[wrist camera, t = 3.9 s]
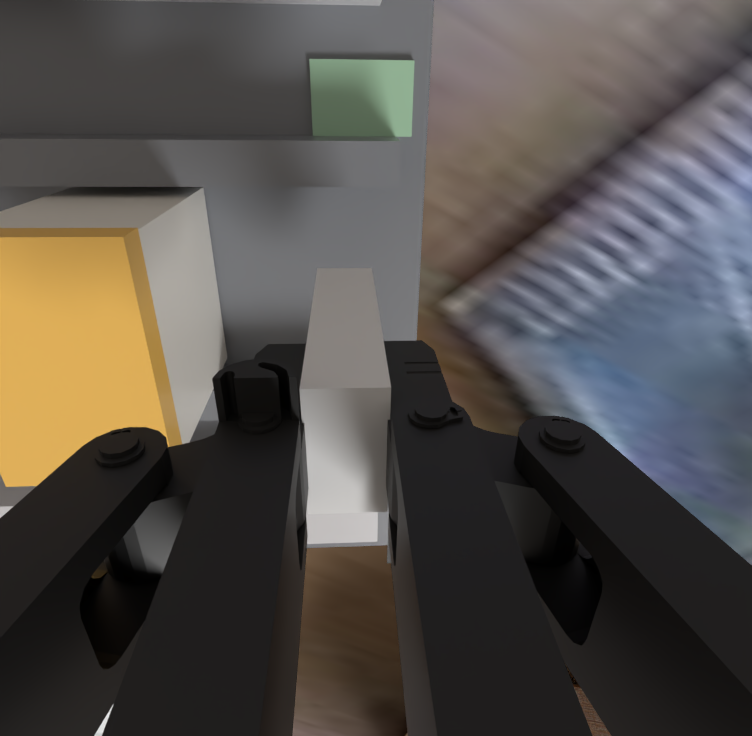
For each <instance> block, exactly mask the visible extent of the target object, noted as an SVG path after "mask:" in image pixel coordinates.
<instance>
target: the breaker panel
mask: <svg viewBox="0 0 752 736" xmlns="http://www.w3.org/2000/svg"><path fill="white" fill-rule="evenodd" d="M433 9H434V0H0V211H3V210H6V209H9V208H12V207H15V206H18V205H21V204H24V203H27V202H30V201H33V200H35V199H38V198H41V197H44V196H47V195H50V194H53V193H56V192H59V191H62V190H65V189H68V188H71V187H203V188H204V195H205V202H206V210H207V217H208V224H209V231H210V238H211V245H212V252H213V259H214V266H215V273H216V280H217V287H218V294H219V302H220V309H221V316H222V323H223V330H224V337H225V344H226V351H227V360H226V362H225V364H224V366H223V368H225V367H227V366H228V365H230V364H234V363H237V362H241V361H244V360H253V359H254V357H255V355H256V354H257V353H258V352H259V351H260V350H262V349H263V348H264V347H265V346H266V345H268V344H306V342H307V335H308V328H309V322H310V315H311V308H312V302H313V295H314V288H315V281H316V275H317V268H372V273H373V279H374V285H375V291H376V297H377V303H378V310H379V316H380V322H381V328H382V334H383V340H384V341H416V339H417V319H418V300H419V280H420V261H421V242H422V222H423V203H424V183H425V164H426V145H427V125H428V106H429V86H430V67H431V47H432V28H433ZM218 423H219V419H218V413H217V407H216V400H215V394H214V389H213V391H212V393H211V395H210V397H209V400H208V402H207V404H206V406H205V409H204V411H203V413H202V415H201V418H200V420H199V422H198V424H197V426H196V429H195V431H194V433H193V435H192V438H191V440H190V442H194V441H197V440H201V439H204V438H207V437H209V436H211V435H214V434H215V431H216V429H217V426H218ZM190 442H189V443H190ZM35 487H36V486H19V487H6V486H5V484H4V481H3V479H2V477H1V474H0V518H1V517H2V516H3V515H4V514H6V513H7V512H8V511H9V510H10V509H11V508H12V507H14V506H15V505H16V504H17V503H18V502H19V501H20V500H21V499H23V498H24V497H25V496H26V495H27V494H28V493H29V492H31V491H32V490H33V489H34V488H35ZM388 519H389V508H387V512H367V513H335V514H308V508H307V511H306V520H307V534H308V538H307V548H320V547H350V546H380V545H388Z"/></svg>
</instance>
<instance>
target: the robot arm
mask: <svg viewBox="0 0 752 736" xmlns="http://www.w3.org/2000/svg"><path fill="white" fill-rule="evenodd" d="M212 382H213V388H214V394H215V400H216V407H217V413H218V419H219V423H218V426H217V429H216V431H215V434H214V435H211V436H209V437H207V438H204V439H201V440H197V441H194V442H190V443H185V444H180V445H176V446H171V447H168V444H167V439H166V437H165V436H164V435H163V434H162V433H161V432H160V431H158V430H154V429H151V428H147V427H127V428H122V429H116V430H112V431H110V432H108V433H105V434H103V435H100V436H98V437H95V438H94V439H92V440H91V441H89V442H88V443H86V444H85V445H83V446H82V447H81V448H80V449H79V450H77V451H76V452H75V453H74V454H73V455H72V456H71V457H69V458H68V459H67V460H66V461H65V462H64V463H63V464H61V465H60V466H59V467H58V468H57V469H56V470H55V471H53V472H52V473H51V474H50V475H49V476H48V477H47V478H45V479H44V480H43V481H42V482H41V483H40V484H39V485H37V486H36V487H35V488H34V489H33V490H32V491H31V492H29V493H28V494H27V495H26V496H25V497H24V498H23V499H21V500H20V501H19V502H18V503H17V504H16V505H15V506H14V507H12V508H11V509H10V510H9V511H8V512H7V513H6V514H4V515H3V516H2V517H1V518H0V736H94V735H95V734H96V732H97V730H98V729H99V727H100V725H101V724H102V722H103V720H104V719H105V717H106V715H107V714H108V712H109V710H110V709H111V707H112V705H113V707H112V710H111V712H110V715H109V718H108V720H107V723H106V726H105V728H104V731H103V734H102V736H292V732H293V719H294V706H295V693H296V680H297V667H298V654H299V641H300V628H301V615H302V602H303V589H304V577H305V564H306V551H307V538H308V534H307V520H306V511H307V508H308V514H335V513H367V512H387V508H389V519H388V550H387V563H391V568H392V578H393V589H394V599H395V609H396V619H397V630H398V640H399V650H400V660H401V670H402V681H403V691H404V701H405V711H406V721H407V732H408V736H593V735H592V733H591V730H590V728H589V725H588V722H587V720H586V717H585V715H584V712H583V709H582V707H581V704H580V702H579V699H578V697H577V694H576V691H575V689H574V686H573V684H572V681H571V678H570V676H569V673H568V671H567V668H566V666H567V667H568V669H569V670H570V672H571V673H572V675H573V676H574V678H575V680H576V681H577V683H578V684H579V686H580V687H581V689H582V691H583V692H584V694H585V695H586V697H587V698H588V700H589V702H590V703H591V705H592V706H593V708H594V709H595V711H596V713H597V714H598V716H599V717H600V719H601V720H602V722H603V723H604V725H605V727H606V728H607V730H608V731H609V733H610V734H611V736H752V565H750V564H749V563H748V562H747V561H746V560H745V559H743V558H742V557H741V556H740V555H739V554H738V553H736V552H735V551H734V550H733V549H732V548H731V547H729V546H728V545H727V544H726V543H725V542H724V541H723V540H721V539H720V538H719V537H718V536H717V535H716V534H714V533H713V532H712V531H711V530H710V529H709V528H707V527H706V526H705V525H704V524H703V523H702V522H700V521H699V520H698V519H697V518H696V517H695V516H693V515H692V514H691V513H690V512H689V511H688V510H686V509H685V508H684V507H683V506H682V505H681V504H679V503H678V502H677V501H676V500H675V499H674V498H672V497H671V496H670V495H669V494H668V493H667V492H665V491H664V490H663V489H662V488H661V487H660V486H658V485H657V484H656V483H655V482H654V481H653V480H652V479H650V478H649V477H648V476H647V475H646V474H645V473H643V472H642V471H641V470H640V469H639V468H638V467H636V466H635V465H634V464H633V463H632V462H631V461H629V460H628V459H627V458H626V457H625V456H624V455H622V454H621V453H620V452H619V451H618V450H617V449H615V448H614V447H613V446H612V445H611V444H610V443H608V442H607V441H606V440H605V439H604V438H603V437H601V436H600V435H599V434H598V433H597V432H595V431H594V430H592V429H591V428H589V427H588V426H586V425H585V424H582V423H579V422H577V421H574V420H571V419H569V418H565V417H559V416H539V417H535V418H532V419H529V420H526V421H525V422H524V423H523V424H522V425H521V426H520V428H519V434H518V437H516V436H511V435H505V434H499V433H494V432H490V431H486V430H483V429H480V428H478V427H475V426H473V424H472V422H471V419H470V416H469V415H468V414H467V412H466V411H465V410H464V408H462V407H460V406H459V405H457V404H456V403H454V402H452V400H451V397H450V394H449V391H448V388H447V385H446V383H445V380H444V377H443V374H442V373H441V368H440V366H439V364H438V360H437V357H436V354H435V351H434V350H433V349H432V348H431V347H429V346H428V345H427V344H426V343H424V342H423V341H422V340H420V341H384V340H383V334H382V328H381V322H380V316H379V310H378V303H377V297H376V291H375V285H374V279H373V273H372V268H317V275H316V281H315V288H314V295H313V302H312V308H311V315H310V322H309V328H308V335H307V342H306V344H268V345H266V346H265V347H264V348H263V349H262V350H260V351H259V352H258V353H257V354H256V355H255V357H254V359H253V360H244V361H241V362H237V363H234V364H230V365H228V366H227V367H225V368H223V369H221V370H219V371H218V372H217V373H216V375H215V376H214V377H213V378H212ZM564 662H565V663H564ZM565 664H566V665H565Z"/></svg>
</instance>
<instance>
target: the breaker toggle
mask: <svg viewBox="0 0 752 736" xmlns="http://www.w3.org/2000/svg"><path fill="white" fill-rule="evenodd" d="M226 360H227V351H226V344H225V337H224V330H223V323H222V316H221V309H220V302H219V294H218V287H217V280H216V273H215V266H214V259H213V252H212V245H211V238H210V231H209V224H208V217H207V210H206V202H205V195H204V188H203V187H71V188H68V189H65V190H62V191H59V192H56V193H53V194H50V195H47V196H44V197H41V198H38V199H35V200H33V201H30V202H27V203H24V204H21V205H18V206H15V207H12V208H9V209H6V210H3V211H0V474H1V477H2V479H3V481H4V484H5V486H6V487H19V486H37V485H39V484H40V483H41V482H42V481H43V480H44V479H45V478H47V477H48V476H49V475H50V474H51V473H52V472H53V471H55V470H56V469H57V468H58V467H59V466H60V465H61V464H63V463H64V462H65V461H66V460H67V459H68V458H69V457H71V456H72V455H73V454H74V453H75V452H76V451H77V450H79V449H80V448H81V447H82V446H83V445H85V444H86V443H88V442H89V441H91V440H92V439H94V438H95V437H98V436H100V435H103V434H105V433H108V432H110V431H112V430H116V429H122V428H127V427H147V428H151V429H154V430H158V431H160V432H161V433H162V434H163V435H164V436H165V437H166V439H167V444H168V447H171V446H176V445H180V444H185V443H189V442H190V440H191V438H192V435H193V433H194V431H195V429H196V426H197V424H198V422H199V420H200V418H201V415H202V413H203V411H204V409H205V406H206V404H207V402H208V400H209V397H210V395H211V393H212V391H213V389H214V388H213V382H212V378H213V377H214V376H215V375H216V373H217V372H218V371H219V370H221V369H223V366H224V364H225V362H226Z"/></svg>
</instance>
